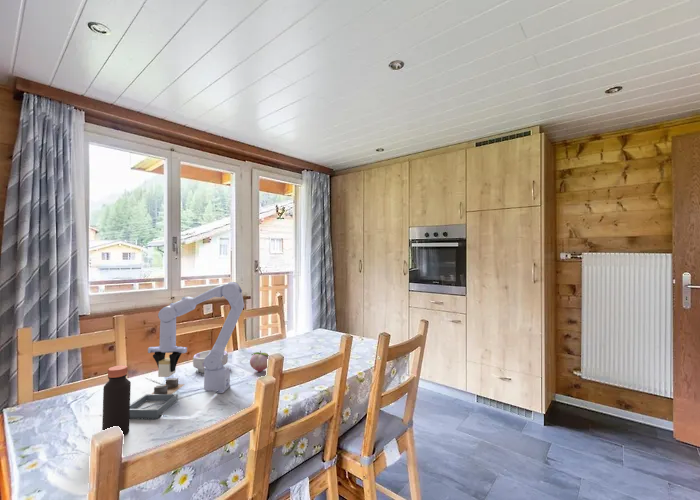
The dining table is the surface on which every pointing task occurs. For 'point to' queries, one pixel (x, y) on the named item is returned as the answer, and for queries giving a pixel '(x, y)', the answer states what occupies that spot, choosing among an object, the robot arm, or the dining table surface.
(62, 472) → the dining table surface
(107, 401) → the bottle
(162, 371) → the white and tan block
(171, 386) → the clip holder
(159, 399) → the tray
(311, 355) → the dining table surface
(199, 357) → the white bowl
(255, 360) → the decorative fruit
